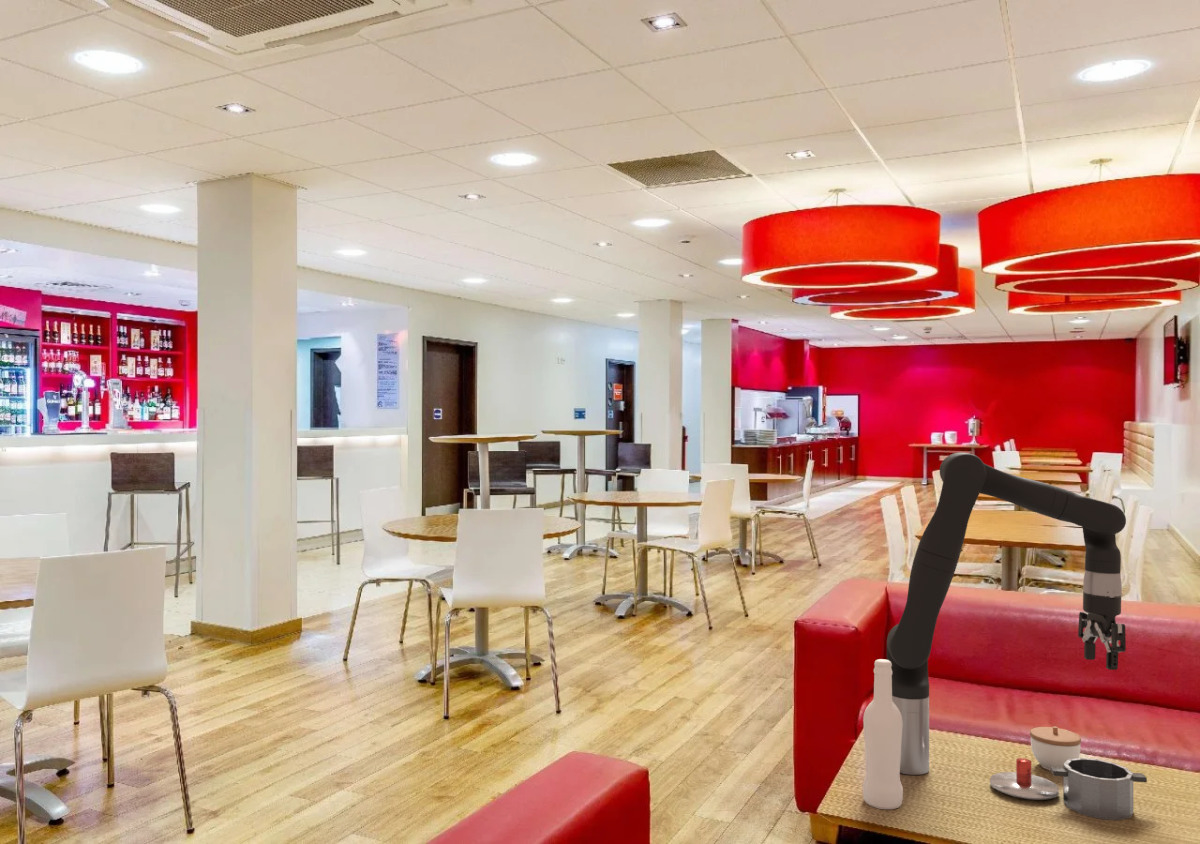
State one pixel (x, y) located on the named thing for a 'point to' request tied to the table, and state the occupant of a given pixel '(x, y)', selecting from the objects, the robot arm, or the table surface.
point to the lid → (1024, 783)
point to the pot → (1098, 788)
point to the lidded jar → (1054, 746)
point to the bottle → (882, 743)
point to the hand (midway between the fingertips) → (1100, 664)
